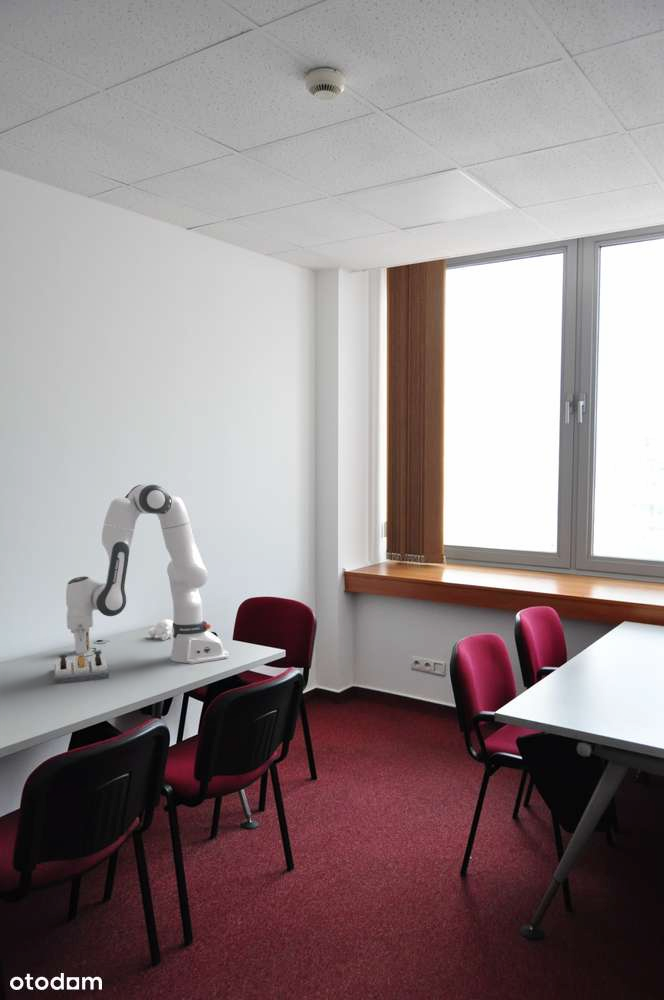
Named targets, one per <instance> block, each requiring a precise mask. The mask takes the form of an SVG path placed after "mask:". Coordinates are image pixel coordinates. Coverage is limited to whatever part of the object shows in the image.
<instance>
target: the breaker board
mask: <svg viewBox="0 0 664 1000" xmlns="http://www.w3.org/2000/svg"><path fill="white" fill-rule="evenodd" d="M109 672H110V671H109V669H108V664H107V661H106V656H105V655H100V664H96V656H89V658H88V657H85V660H84V661H83V667H79V661H78V659H77V658H73V659H72V661H71V658H70V659H65V667H64V668H61V659H60V660H55V664H54V684H55V685H57V684H58V685H59V684H68V683H76V682H77V683H78V682H86V681H97V680H104V679H109V678H110V673H109Z"/></svg>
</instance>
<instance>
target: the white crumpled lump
mask: <svg viewBox="0 0 664 1000" xmlns="http://www.w3.org/2000/svg"><path fill="white" fill-rule="evenodd" d="M173 622H174V620H171V619H168V618H167V619H162V620H160V621H159V622H157V624H155V626H153V627H151V628H149V629H148V635H149V636H150V637H151V638H152V639H153V638H156V637H160V638H162V639H161V640H162V641H167V639H172V638H173V633H172V626H173ZM163 635H165V636H163Z"/></svg>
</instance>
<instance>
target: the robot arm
mask: <svg viewBox="0 0 664 1000" xmlns="http://www.w3.org/2000/svg"><path fill="white" fill-rule="evenodd" d="M142 514H144V515H145V514H146V515H147V514H153V515H154V514H155V515H156V517H158V521H159V523H160V528H161V531H162V536H163V540H164V545H165V549H166V550H167V552H168V554H169V556H170V558H171V561H170V562H169V563H168V565H167V567H166V572H167V576H168V580H169V587H170V592H171V596H172V605H173V608H172V609H173V613H172V614H173V626H172V633H173V635H172V638H173V641H172V647H171V648H172V649H171V655H170V661H173V662H176V663H184V664H191V665H193V664H198V663H199V664H200V663H205V662H212V661H217V660H218V661H219V660H224V658H225V659H228V658H229V657H230V653H229V651H228V650H226V649H225V648H224V647H223V646H224V645H223V643H222V642H223V641H222V640H221V638H219V637H218V636H217V635H215V634H214V633H212V632H211V631H210V630H209V629H211V624H210V623H209V622H206V621H205V620H203V600H202V597H201V594H200V588H201V587H203V586H204V585H205V584H206V583H207V581H208V578H209V571H208V570H207V567H206V566H205V564H204V561H203V558H202V556H201V554H200V551H199V549H198V546H197V543H196V541H195V540H196V539H195V537H194V532H193V530H192V525H191V520H190V517H189V513H188V510H187V508H186V505H185V503H184V501H183V499H182V498H181V497H179V496H176V495H169V494H168V492H167V491H166V490H165V489H164V488H163V487H162V486H160V485H158V484H153V483H144V484H138V485H136V486H134V487H132V489H130V491H129V492H128V494H126V495H125V497H117V498H114V499H113V500H112V501H111V502H110V504H109V507H108V509H107V512H106V515H105V518H104V522H103V527H102V530H101V531H102V532H101V533H102V534H101V544H102V546H103V547H104V549H105V551H106V553H107V555H108V556H107V557H108V561H109V562H108V570H107V576H106V581H105V583H104V582H100V581H96V580H94V579H92V578H90V577H89V576H85V575H83V576H78V577H75V578H72V579H70V580H69V581H68V582H67V584H66V590H65V602H66V607H67V611H66V627H67V629H68V630H70V633H71V634H73V635H74V644H75V646H74V647H75V654H76V655H78V656H77V657H84V656H85V654H87V652H88V651H87V642H86V632H89V633H90V628H92V627H93V626H94V617H93V614H94V613H93V611H97V610H98V612H100V613H101V614H102V615H104V616H107V617H114V616H117V615H119V614H121V613H122V612H123V611H124V609H125V608H126V604H127V596H126V591H125V584H126V577H127V573H128V572H127V571H128V564H129V558H130V557H129V556H130V552H131V551H130V550H131V546H132V541H133V537H134V532H135V529H136V528H135V527H136V522H137V520H138V518H139V516H140V515H142ZM83 661H84V660H83Z"/></svg>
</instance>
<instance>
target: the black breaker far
mask: <svg viewBox="0 0 664 1000" xmlns="http://www.w3.org/2000/svg"><path fill="white" fill-rule="evenodd" d="M66 658H67V653H59V659H60V660H61V668H64V667H65V660H66Z"/></svg>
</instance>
